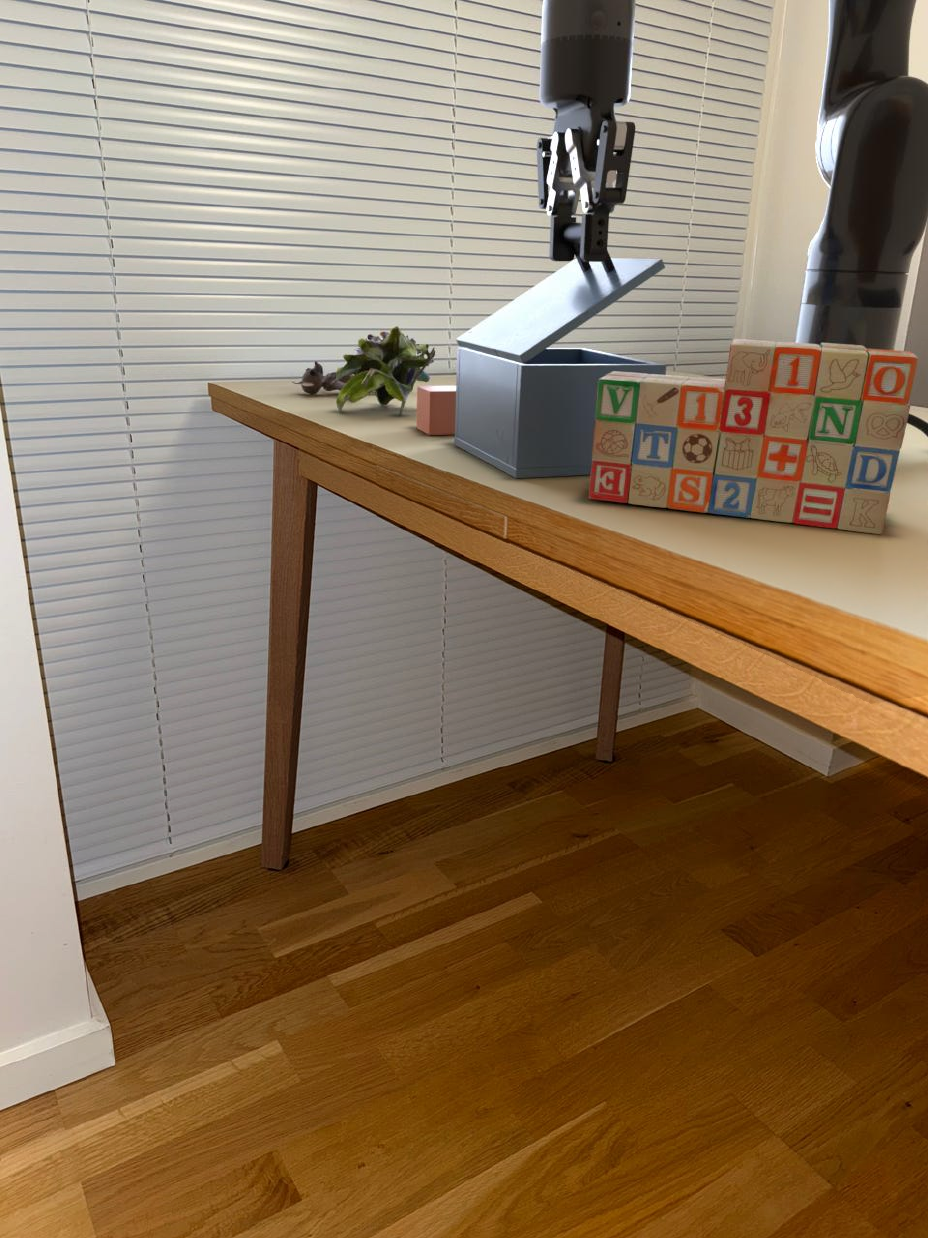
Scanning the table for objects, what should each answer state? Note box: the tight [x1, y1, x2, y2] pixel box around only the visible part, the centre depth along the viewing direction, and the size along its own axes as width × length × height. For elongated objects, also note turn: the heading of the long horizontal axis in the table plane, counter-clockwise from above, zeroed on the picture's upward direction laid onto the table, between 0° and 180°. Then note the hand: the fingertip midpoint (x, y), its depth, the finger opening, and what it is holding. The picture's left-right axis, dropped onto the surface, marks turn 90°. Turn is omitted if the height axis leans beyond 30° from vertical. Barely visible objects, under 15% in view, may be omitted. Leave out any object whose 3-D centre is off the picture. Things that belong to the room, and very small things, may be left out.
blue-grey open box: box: [454, 347, 667, 479], centre depth 86 cm, size 14×16×9 cm
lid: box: [455, 221, 666, 363], centre depth 82 cm, size 14×16×5 cm
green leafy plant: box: [335, 325, 436, 417], centre depth 110 cm, size 11×11×12 cm
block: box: [416, 385, 456, 436], centre depth 99 cm, size 4×4×4 cm
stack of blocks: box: [588, 338, 919, 535], centre depth 69 cm, size 21×6×12 cm, turn 71°
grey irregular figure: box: [291, 360, 354, 396], centre depth 125 cm, size 18×4×14 cm
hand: (576, 260), depth 82 cm, fingers closed on lid, 5 cm apart
